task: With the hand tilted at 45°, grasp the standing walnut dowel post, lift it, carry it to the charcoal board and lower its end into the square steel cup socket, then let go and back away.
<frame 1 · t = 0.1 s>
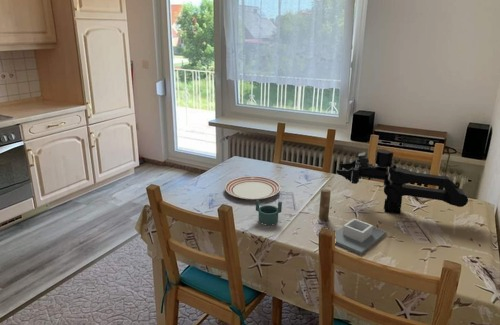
hand: (338, 168, 165), 17 cm above the table, tool horizontal, fingers open, 9 cm apart
dinner plate: (252, 192, 180), on the table
cup socket: (356, 237, 139), on the table
dowel post: (323, 217, 154), on the table
teal handled pot: (268, 220, 152), on the table
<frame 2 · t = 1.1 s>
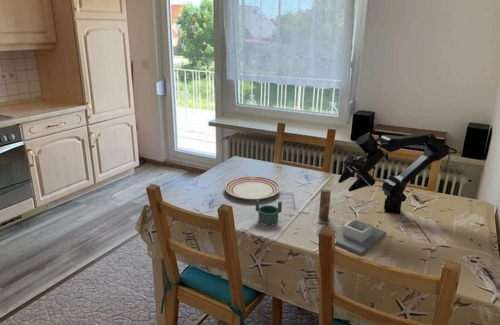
hand: (343, 186, 151), 14 cm above the table, tool tilted 45°, fingers open, 9 cm apart
nothing on the table moved.
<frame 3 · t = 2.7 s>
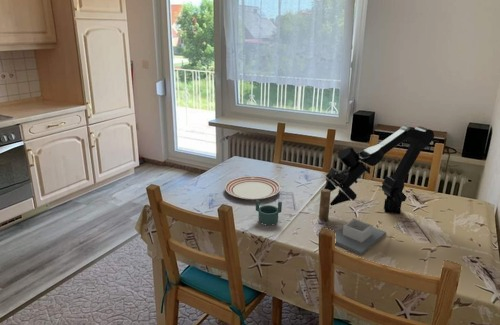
hand: (325, 200, 151), 8 cm above the table, tool tilted 45°, fingers open, 9 cm apart
nothing on the table moved.
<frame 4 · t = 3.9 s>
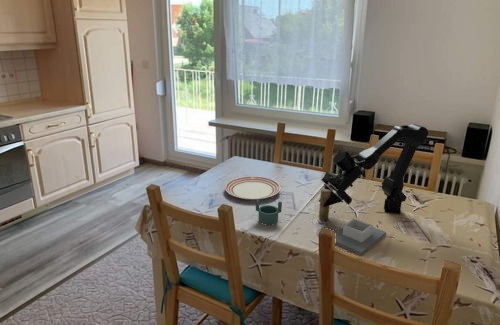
hand: (321, 204, 152), 7 cm above the table, tool tilted 45°, fingers closed on dowel post, 4 cm apart
dowel post: (323, 217, 154), on the table, touching gripper
everything else where it was.
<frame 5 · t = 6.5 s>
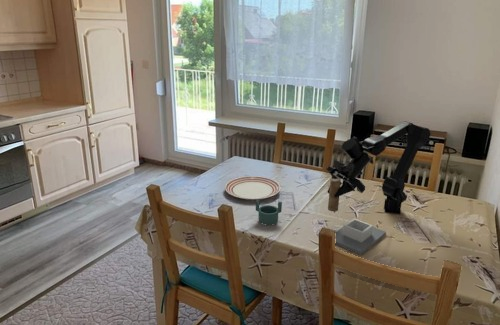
hand: (331, 194, 144), 14 cm above the table, tool tilted 45°, fingers closed on dowel post, 4 cm apart
dowel post: (332, 209, 146), point 7 cm above the table, touching gripper
everything else where it was.
when the fingers open (9 cm above the table, at t = 8.9 s): dowel post drops 1 cm, resting on cup socket.
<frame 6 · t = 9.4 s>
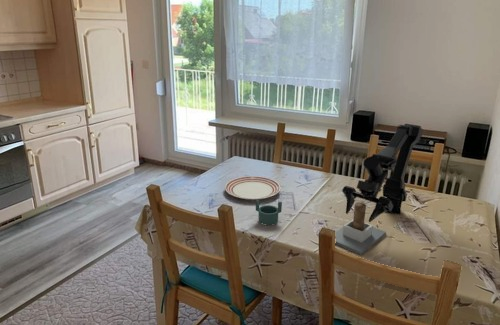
hand: (357, 217, 135), 9 cm above the table, tool tilted 45°, fingers open, 9 cm apart
dowel post: (357, 234, 139), point 1 cm above the table, touching cup socket
everything else where it was.
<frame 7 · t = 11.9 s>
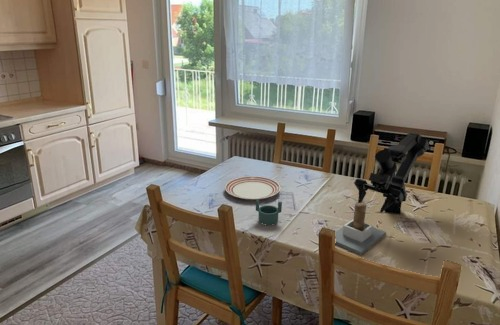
hand: (369, 208, 141), 10 cm above the table, tool tilted 45°, fingers open, 9 cm apart
nothing on the table moved.
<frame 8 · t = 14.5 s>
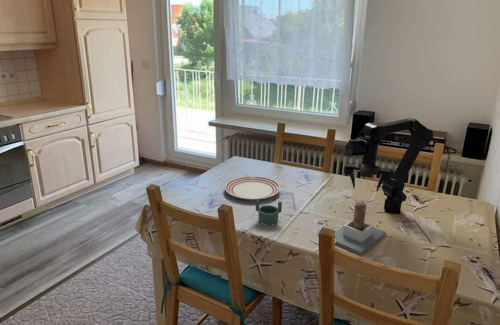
hand: (365, 189, 153), 12 cm above the table, tool pointing down, fingers open, 9 cm apart
nothing on the table moved.
at the end: dowel post 0.0 cm off-centre on the cup socket, point 1.2 cm above the cup socket's base; dowel post tilted 0°; the gripper is holding nothing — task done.
